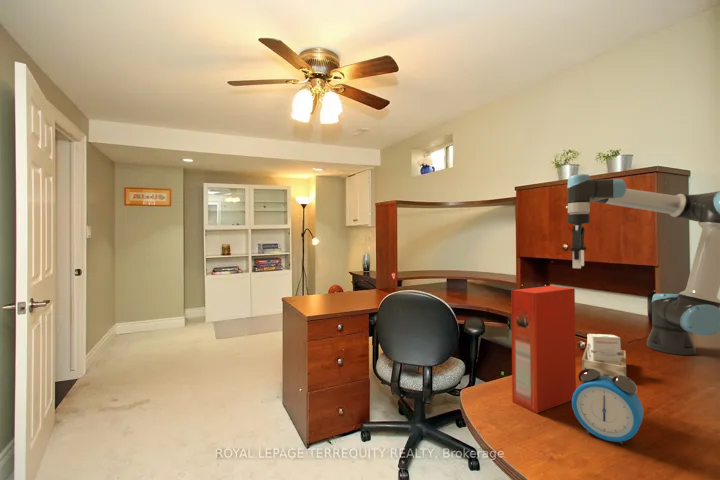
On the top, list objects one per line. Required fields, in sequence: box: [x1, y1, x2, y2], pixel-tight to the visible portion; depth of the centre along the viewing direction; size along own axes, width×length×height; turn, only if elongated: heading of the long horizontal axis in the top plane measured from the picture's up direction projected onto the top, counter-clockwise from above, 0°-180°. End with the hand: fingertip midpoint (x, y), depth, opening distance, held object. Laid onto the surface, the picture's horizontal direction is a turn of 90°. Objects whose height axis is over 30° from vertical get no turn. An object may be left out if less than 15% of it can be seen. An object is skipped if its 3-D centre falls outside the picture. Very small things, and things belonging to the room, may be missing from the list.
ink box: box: [586, 333, 622, 366], centre depth 120 cm, size 9×5×12 cm, turn 80°
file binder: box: [510, 285, 577, 414], centre depth 100 cm, size 8×17×32 cm, turn 118°
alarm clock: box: [571, 368, 644, 447], centre depth 82 cm, size 13×6×15 cm, turn 44°
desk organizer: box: [581, 344, 627, 378], centre depth 124 cm, size 12×20×9 cm, turn 143°
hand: (578, 267), depth 140 cm, fingers open, 13 cm apart
